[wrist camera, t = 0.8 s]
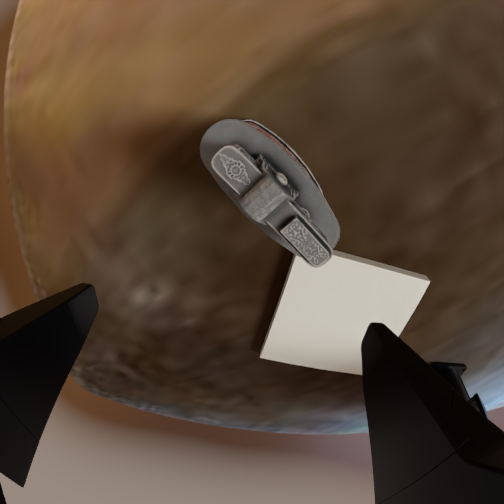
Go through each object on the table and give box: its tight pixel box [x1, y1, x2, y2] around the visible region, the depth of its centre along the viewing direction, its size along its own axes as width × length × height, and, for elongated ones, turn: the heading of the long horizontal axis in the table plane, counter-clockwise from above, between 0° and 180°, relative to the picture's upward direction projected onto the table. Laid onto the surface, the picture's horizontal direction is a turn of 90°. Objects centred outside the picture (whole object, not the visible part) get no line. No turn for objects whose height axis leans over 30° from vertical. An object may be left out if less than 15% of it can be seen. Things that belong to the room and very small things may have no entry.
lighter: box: [200, 119, 340, 268], centre depth 15 cm, size 8×3×10 cm, turn 44°
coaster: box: [260, 250, 430, 375], centre depth 24 cm, size 12×12×1 cm
